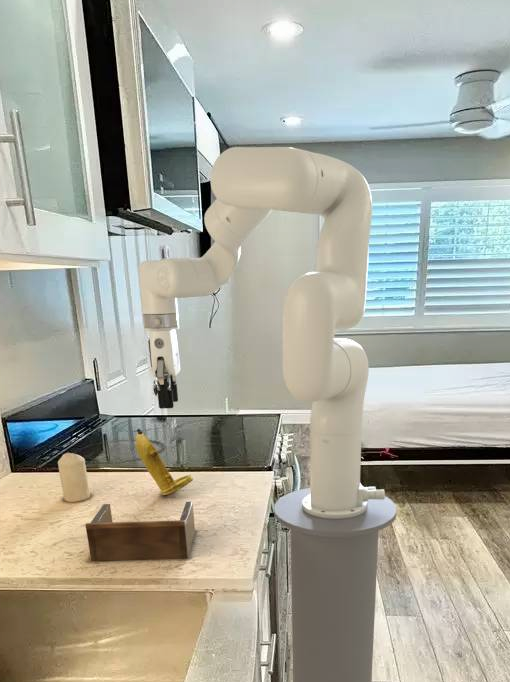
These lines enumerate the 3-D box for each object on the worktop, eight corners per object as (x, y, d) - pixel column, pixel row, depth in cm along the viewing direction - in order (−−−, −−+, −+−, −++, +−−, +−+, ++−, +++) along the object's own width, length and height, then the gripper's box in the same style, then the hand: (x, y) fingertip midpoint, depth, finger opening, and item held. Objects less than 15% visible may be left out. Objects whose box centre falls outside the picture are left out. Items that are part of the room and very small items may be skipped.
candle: (95, 495, 126) (89, 452, 123) (76, 503, 122) (68, 459, 118) (78, 491, 129) (71, 449, 125) (58, 499, 125) (50, 455, 121)
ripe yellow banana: (138, 502, 122) (129, 434, 116) (145, 489, 129) (138, 424, 124) (191, 500, 122) (185, 432, 116) (196, 487, 129) (190, 422, 124)
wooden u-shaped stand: (195, 531, 107) (192, 497, 104) (187, 558, 97) (184, 521, 94) (107, 533, 107) (102, 500, 104) (91, 561, 97) (85, 524, 94)
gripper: (172, 325, 115) (180, 412, 122) (183, 319, 131) (189, 397, 138) (135, 326, 115) (145, 413, 122) (151, 320, 131) (159, 397, 138)
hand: (168, 404), depth 130 cm, fingers open, 6 cm apart
